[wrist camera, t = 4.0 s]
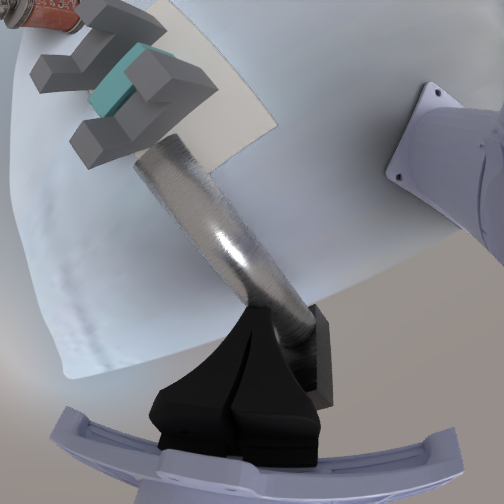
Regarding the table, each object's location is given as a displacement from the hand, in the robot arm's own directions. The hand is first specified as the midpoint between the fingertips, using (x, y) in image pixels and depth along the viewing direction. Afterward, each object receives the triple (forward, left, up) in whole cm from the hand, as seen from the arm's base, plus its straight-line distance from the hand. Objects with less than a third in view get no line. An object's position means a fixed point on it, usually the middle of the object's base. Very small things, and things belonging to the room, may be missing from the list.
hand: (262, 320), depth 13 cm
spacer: (+12, -8, -7) cm, 16 cm away
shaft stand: (+12, -8, -8) cm, 16 cm away
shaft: (+2, -2, -3) cm, 4 cm away
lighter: (+26, -15, -8) cm, 31 cm away
